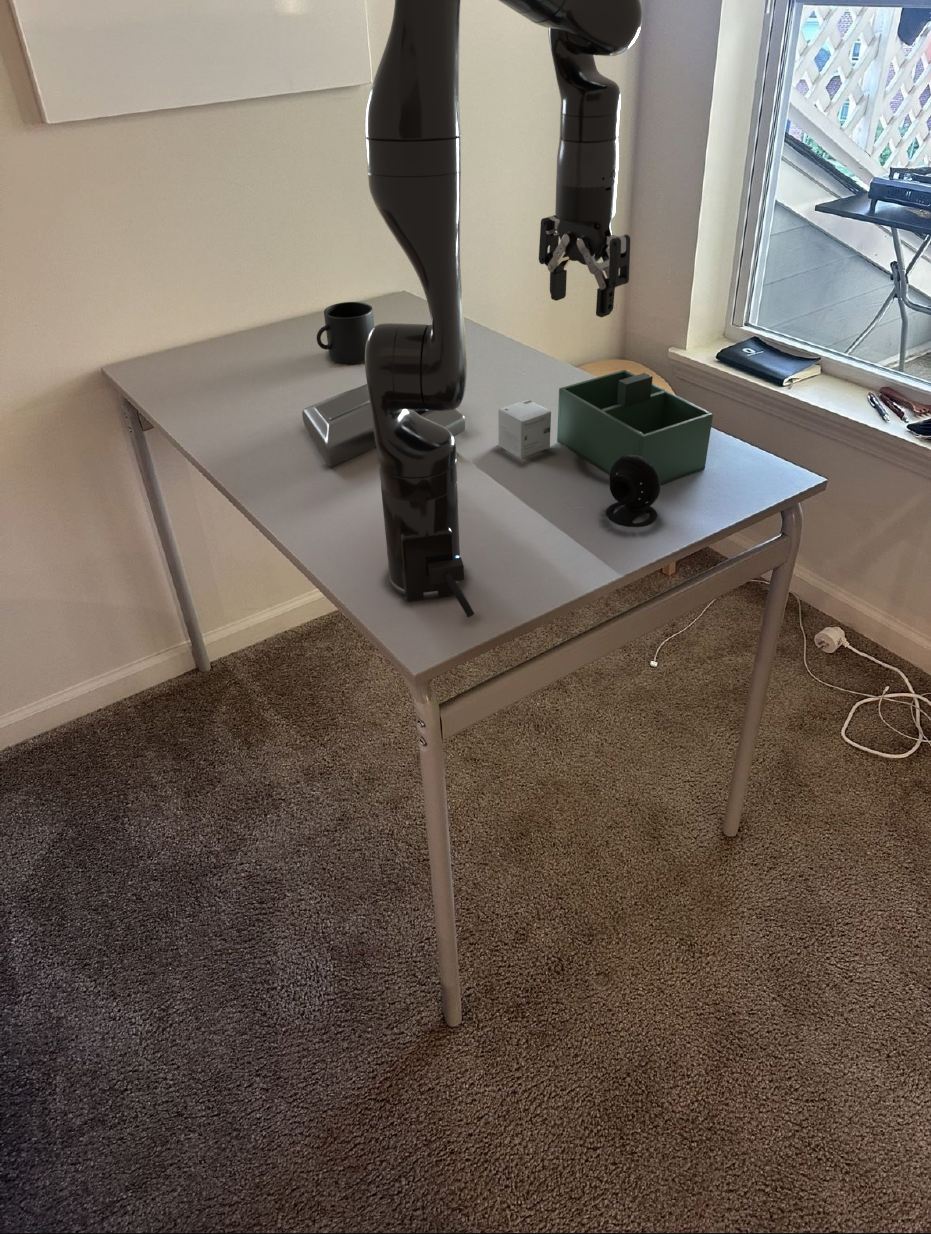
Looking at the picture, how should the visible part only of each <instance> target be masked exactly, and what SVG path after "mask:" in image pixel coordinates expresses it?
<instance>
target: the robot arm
mask: <svg viewBox="0 0 931 1234" xmlns="http://www.w3.org/2000/svg"><path fill="white" fill-rule="evenodd" d="M461 1H462V0H394V9H393V16H392V21H391V25H390V29H389V34H388V37H387V40H386V44H385V47H384V49H383V52H382V55H381V59H380V61H379V64H378V66H377V70H376V73H375V74H374V75H375V76H374V79H373V82H372V85H371V88H370V92H369V96H368V99H367V104H366V108H365V118H364V119H365V120H364V132H365V133H364V134H365V137H366V138H365V151H366V165H367V167H366V168H367V180H368V181H367V182H368V188H369V193H370V196H371V199H372V201H373V203H374V205H375V208H376V210H377V211H378V214H379V215H380V217H381V218H382V220H383V222H384V223H385V225H386V227H387V228H388V230H389V231H390V233H391V235H392V236H393V237H394V239H395V240H396V242H397V244H398V245H399V247H400V248H401V250H402V251H403V252H404V254H405V256H406V258H407V259H408V261H409V262H410V264H411V266H412V269H413V270H414V272H415V274H416V275H417V277H418V279H419V280H418V281H420V284H421V286H422V289H423V292H424V295H425V299H426V302H427V305H428V311H429V315H430V316H429V317H430V321H431V323H412V322H381V323H378V324H375V325H374V327H373V328H372V330H371V331H370V333H369V335H368V338H367V342H366V348H365V361H364V372H365V379H366V384H367V388H368V394H369V400H370V406H371V412H372V419H373V426H374V435H375V443H376V447H375V448H376V451H377V459H378V468H379V480H380V491H381V501H382V511H383V521H384V522H383V523H384V531H385V532H384V533H385V544H386V554H387V561H388V581H389V582H388V583H389V585H390V587H391V588H392V589H393V591H394V592H396V593H398V594H399V595H401V596H404V597H405V599H406V602H414V601H420V600H421V601H422V600H428V599H436V598H443V597H449V596H454V597H455V599H456V600H457V602H458V603H459V605H460V606H461V608H462V610H463V612H464V613H465V615H466V617H467V618H470V617H472V616H474V615H475V611H474V610H473V608H472V606H471V605H470V603H469V602H468V599H467V597H466V596H465V595H464V593H463V591H462V590H461V588H460V587H459V585H460V583H461V582H462V581H465V565H464V561H463V559H462V557H461V549H460V521H459V496H458V468H457V467H458V465H457V464H458V463H457V443H456V440H455V437H454V436H453V435H452V433H451V432H450V431H449V430H448V429H446V428H445V427H443V426H441V425H439V424H437V423H435V422H432V421H430V420H428V419H426V418H424V417H422V416H420V415H419V414H417V413H416V412H415V411H413V410H426V411H427V410H428V411H451V410H455V409H456V408H458V409H459V407H460V406H461V404H462V402H463V400H464V397H465V392H466V388H467V375H468V374H467V373H468V371H467V370H468V368H467V367H468V364H467V362H468V361H467V346H466V344H467V343H466V330H465V315H464V302H463V287H462V271H461V267H462V266H461V202H462V201H461V197H462V196H461V195H462V194H461V193H462V192H461V191H462V188H461V187H462V153H461V152H462V151H461V148H462V147H461V135H462V133H461V115H460V26H461V25H460V24H461V23H460V21H461V20H460V19H461ZM497 1H498V2H499V3H502V4H503V5H505V6H506V7H508V8H509V9H511V10H513V11H514V12H515V13H517V14H519V15H520V16H522V17H523V18H525V19H527V20H528V21H530V22H531V23H533V24H535V25H537V26H540V27H543V28H547V36H548V41H549V43H548V44H549V47H550V52H551V53H550V54H551V57H552V61H553V63H552V64H553V69H554V72H555V78H556V83H557V86H558V91H559V92H558V93H559V97H560V112H559V141H558V148H557V155H556V175H555V176H556V177H555V178H556V180H555V211H554V212H555V213H554V214H553V215H550V216H547V217H544V218H541V219H540V227H539V246H538V247H539V248H538V262H539V264H540V265H545V266H546V267H547V271H548V272H549V294H550V299H551V300H553V301H556V302H557V301H560V300H563V299H565V298H566V296H567V276H568V272H567V271H568V270H567V269H566V268H567V266H568V265H569V263H570V262H571V261H572V262H578V263H580V264H581V265H584V266H587V269H588V271H589V273H590V274H591V275H593V276H594V278H595V281H596V283H597V286H598V288H597V289H596V290H597V291H596V302H595V303H596V305H595V306H596V307H595V316H596V317H599V318H604V317H607V316H610V315H611V313H612V312H613V310H614V306H615V304H614V303H615V292H616V288H618V287H621V286H623V285H626V284H628V283H629V281H630V264H631V263H630V260H631V237H630V235H629V234H622V235H615V234H612V229H611V222H612V220H613V218H614V217H615V215H616V203H617V202H616V201H617V190H618V189H617V188H618V174H619V173H618V172H619V159H620V158H619V157H620V155H619V152H620V151H619V129H620V113H621V112H620V111H621V90H620V89H621V88H620V86H619V85H618V83H617V82H616V81H614V80H612V79H610V78H609V77H607V76H604V75H603V74H602V73H600V71H599V70H598V68H597V65H596V61H595V57H594V56H600V57H614V56H618V55H621V54H624V53H625V52H626V51H627V50H629V49H630V48H631V47H632V46H633V44H635V42H636V40H637V39H638V37H639V34H640V32H641V28H642V23H643V8H642V4H641V0H497ZM559 241H560V242H559ZM601 259H602V261H601V262H599V261H600V260H601Z"/></svg>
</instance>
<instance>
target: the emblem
mask: <svg viewBox="0 0 931 1234" xmlns="http://www.w3.org/2000/svg"><path fill="white" fill-rule="evenodd" d="M413 411H415V412H416V413H417V414H419V415H420V416H422V417H424V418H426V419H428V420H430V421H432V422H435V423H437V424H439V425H441V426H443V427H445V428H446V429H448V430H449V431H450V432H451V433H452V435H453V436H456V435H458V434H461V433H463V432H465V431H466V418H465V415H464V414H463V413H462V411H461V410H460V409H459V407H458V408H456V409H455V410H451V411H428V410H427V411H426V410H413ZM301 414H302V422H303V425H304V427H305V429H306V431H307V433H308V434H309V435H310V438H311V439H312V441H313V442H314V444H315V446H316V447H317V449H318V451H319V453H320V454H321V456H322V458H323V460H324V461H325V463H326V464H327V466H328V467H329V468H333V467H336V466H337V465H340V464H341V463H342V464H343V463H345V462H346V461H348V460H350V459H352V458H353V459H354V458H355V457H357V456H359V455H361V454H363V453H366V452H368V451H370V450H372V449H374V448H377V447H376V443H375V435H374V426H373V419H372V412H371V406H370V400H369V394H368V388H367V383H366V384H363V385H361V386H359V387H355V388H352V389H349V390H347V391H344V392H342V393H339V394H336V395H333V396H331V397H329V398H326V399H324V400H322V401H319V402H317V403H314V404H312V405H309V406H307V407H305V408H303V409H302V412H301Z"/></svg>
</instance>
